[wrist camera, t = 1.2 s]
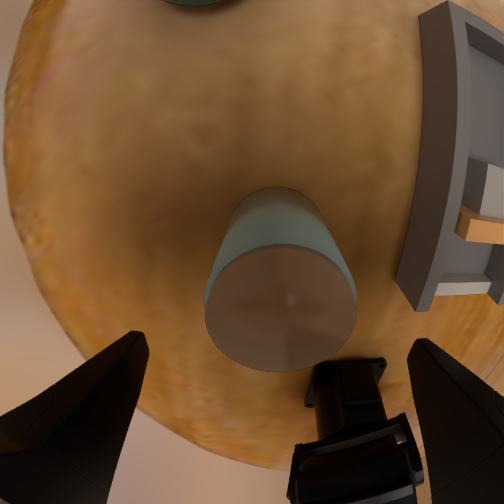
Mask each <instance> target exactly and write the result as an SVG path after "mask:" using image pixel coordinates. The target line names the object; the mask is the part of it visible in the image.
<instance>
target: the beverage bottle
mask: <svg viewBox="0 0 504 504" xmlns="http://www.w3.org/2000/svg"><path fill="white" fill-rule="evenodd" d="M163 1H164V0H163ZM167 1H170V2H169V3H171V2H174V4H177V3H178V4H183V5H203V4H210V3H214V2H218V1H222V0H167ZM167 1H166V2H167Z"/></svg>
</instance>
